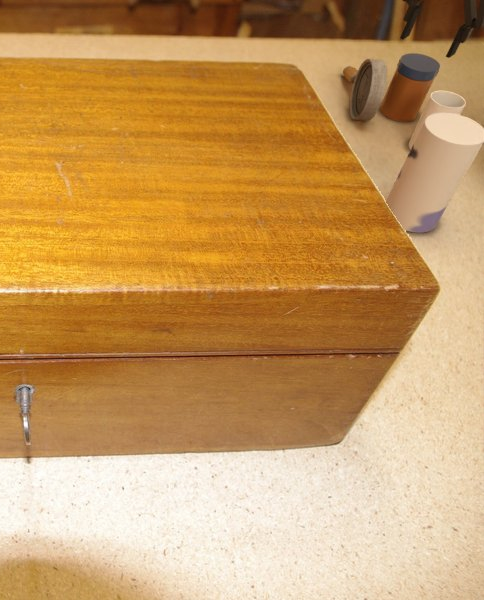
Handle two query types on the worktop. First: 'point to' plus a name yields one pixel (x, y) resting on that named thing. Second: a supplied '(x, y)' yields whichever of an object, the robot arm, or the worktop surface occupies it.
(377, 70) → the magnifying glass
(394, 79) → the jar
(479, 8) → the robot arm
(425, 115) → the mug
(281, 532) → the worktop surface
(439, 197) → the container
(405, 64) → the lid
